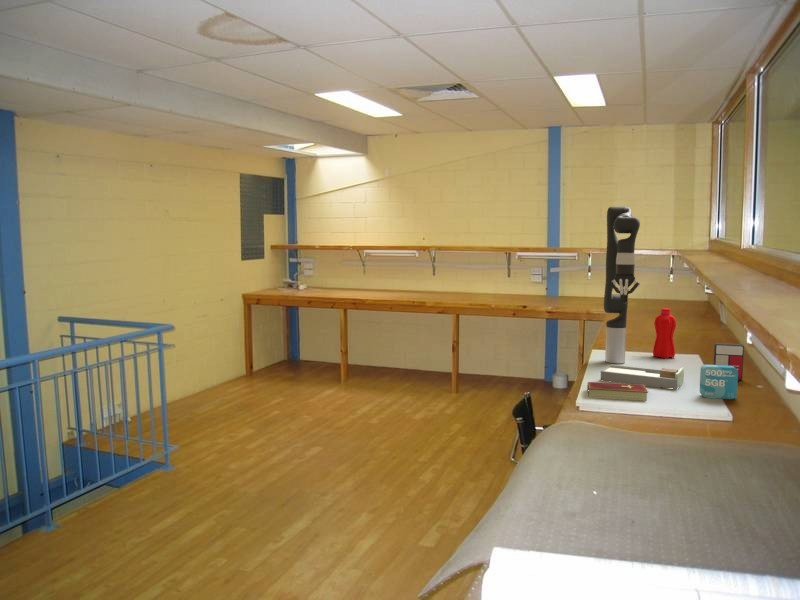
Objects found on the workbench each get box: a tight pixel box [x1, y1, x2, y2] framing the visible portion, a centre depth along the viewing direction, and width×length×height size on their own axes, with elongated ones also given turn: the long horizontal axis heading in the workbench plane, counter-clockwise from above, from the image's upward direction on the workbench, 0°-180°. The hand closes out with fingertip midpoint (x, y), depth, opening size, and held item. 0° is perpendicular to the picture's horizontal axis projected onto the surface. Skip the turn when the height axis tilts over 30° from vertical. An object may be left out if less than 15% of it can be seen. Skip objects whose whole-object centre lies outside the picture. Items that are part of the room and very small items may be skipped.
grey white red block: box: [712, 342, 745, 381], centre depth 267 cm, size 11×4×15 cm, turn 70°
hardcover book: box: [586, 381, 649, 402], centre depth 238 cm, size 12×21×4 cm, turn 76°
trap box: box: [600, 364, 685, 390], centre depth 263 cm, size 17×30×6 cm, turn 57°
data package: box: [699, 364, 739, 400], centre depth 235 cm, size 12×4×12 cm, turn 76°
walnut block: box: [659, 367, 679, 379], centre depth 257 cm, size 6×6×3 cm
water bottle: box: [652, 307, 677, 359], centre depth 318 cm, size 9×11×25 cm
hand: (623, 303), depth 271 cm, fingers closed
